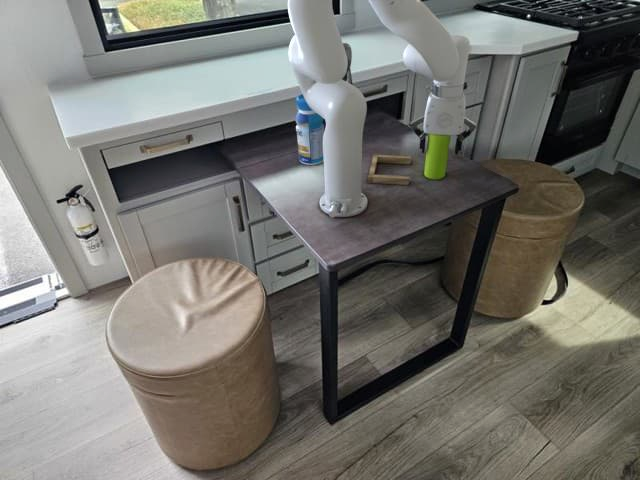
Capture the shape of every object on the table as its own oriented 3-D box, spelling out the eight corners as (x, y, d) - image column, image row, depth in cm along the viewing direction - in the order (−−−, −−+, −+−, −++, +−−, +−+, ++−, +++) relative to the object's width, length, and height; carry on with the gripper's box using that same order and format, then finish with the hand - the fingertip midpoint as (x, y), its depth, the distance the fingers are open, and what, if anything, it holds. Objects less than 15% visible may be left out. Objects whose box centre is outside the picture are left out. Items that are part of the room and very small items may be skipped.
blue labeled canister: (324, 165, 131) (321, 101, 119) (297, 166, 132) (291, 102, 120) (326, 153, 138) (323, 91, 126) (300, 153, 139) (294, 92, 126)
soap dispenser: (444, 181, 120) (455, 112, 108) (421, 176, 123) (428, 108, 111) (451, 172, 124) (461, 105, 112) (427, 167, 127) (435, 101, 115)
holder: (408, 185, 120) (409, 178, 119) (368, 182, 122) (368, 176, 121) (410, 162, 131) (411, 156, 129) (373, 160, 133) (373, 154, 132)
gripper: (412, 93, 108) (407, 156, 118) (484, 95, 104) (472, 159, 115) (413, 84, 113) (408, 144, 124) (482, 85, 110) (471, 147, 121)
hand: (439, 151), depth 119 cm, fingers open, 8 cm apart
